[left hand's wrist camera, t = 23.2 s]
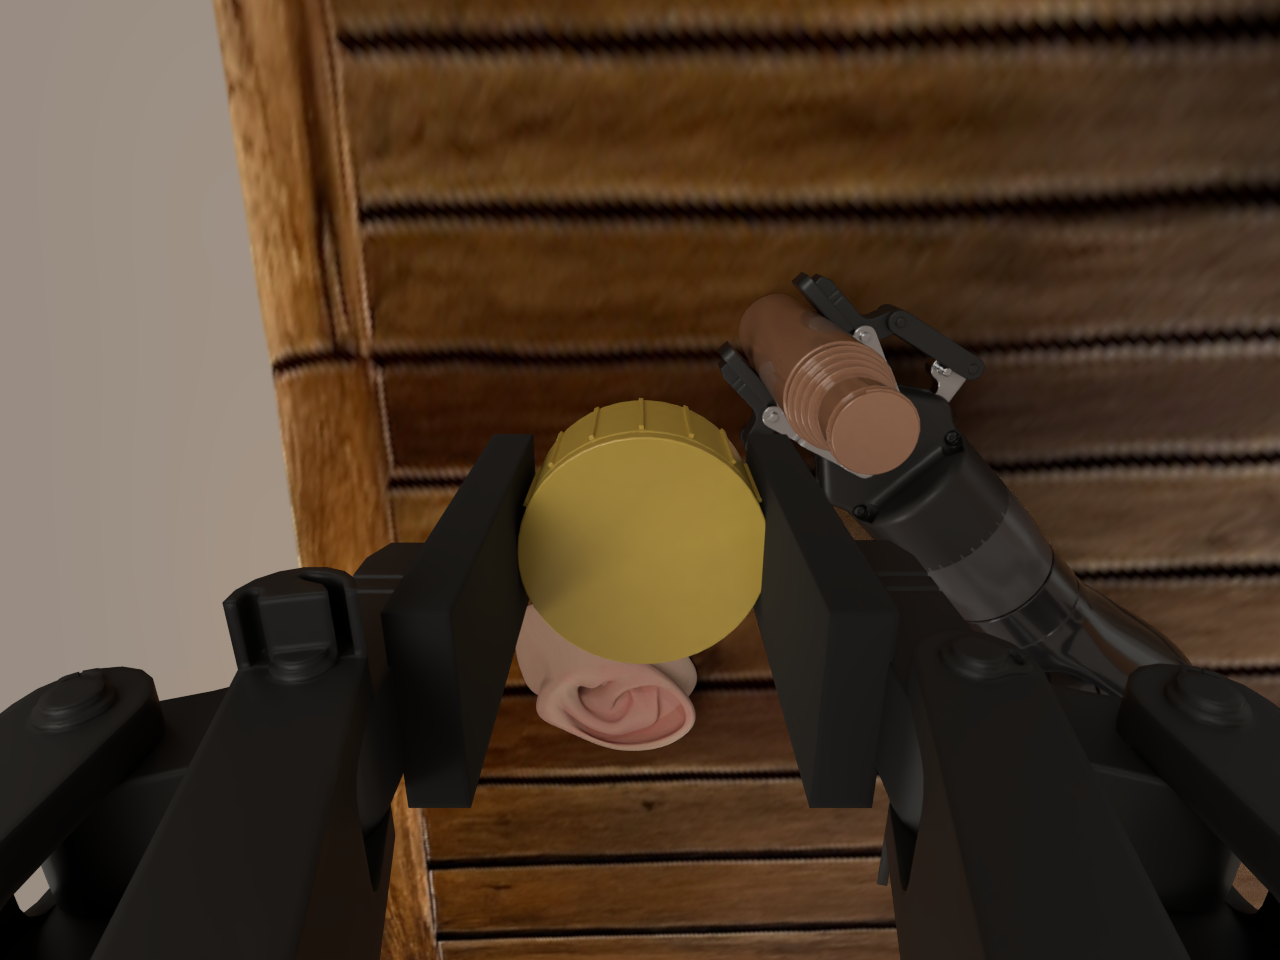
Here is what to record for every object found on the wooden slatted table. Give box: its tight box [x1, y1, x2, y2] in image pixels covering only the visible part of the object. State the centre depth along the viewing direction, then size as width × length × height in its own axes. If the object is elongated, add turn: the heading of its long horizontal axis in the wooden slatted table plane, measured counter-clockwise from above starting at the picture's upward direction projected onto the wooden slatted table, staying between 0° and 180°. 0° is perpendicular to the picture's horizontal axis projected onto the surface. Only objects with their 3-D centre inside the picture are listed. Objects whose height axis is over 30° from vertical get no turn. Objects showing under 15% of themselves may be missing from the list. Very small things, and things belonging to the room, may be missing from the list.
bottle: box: [739, 294, 920, 475], centre depth 35 cm, size 5×5×21 cm
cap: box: [517, 398, 765, 664], centre depth 13 cm, size 4×4×2 cm
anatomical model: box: [516, 604, 697, 750], centre depth 51 cm, size 13×4×12 cm
